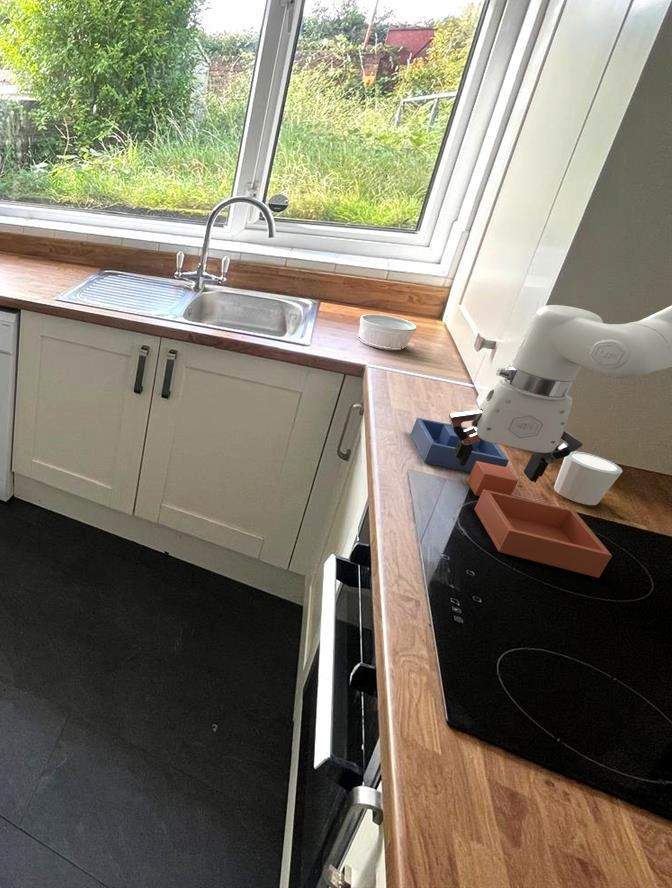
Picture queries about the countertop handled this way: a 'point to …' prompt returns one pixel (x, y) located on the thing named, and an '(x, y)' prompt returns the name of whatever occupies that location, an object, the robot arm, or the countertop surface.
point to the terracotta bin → (541, 533)
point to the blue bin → (451, 448)
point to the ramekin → (385, 331)
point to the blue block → (452, 438)
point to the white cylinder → (586, 477)
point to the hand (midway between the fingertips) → (493, 469)
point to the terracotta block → (491, 479)
